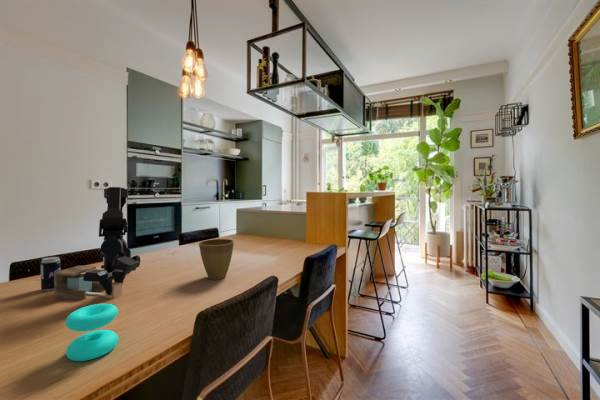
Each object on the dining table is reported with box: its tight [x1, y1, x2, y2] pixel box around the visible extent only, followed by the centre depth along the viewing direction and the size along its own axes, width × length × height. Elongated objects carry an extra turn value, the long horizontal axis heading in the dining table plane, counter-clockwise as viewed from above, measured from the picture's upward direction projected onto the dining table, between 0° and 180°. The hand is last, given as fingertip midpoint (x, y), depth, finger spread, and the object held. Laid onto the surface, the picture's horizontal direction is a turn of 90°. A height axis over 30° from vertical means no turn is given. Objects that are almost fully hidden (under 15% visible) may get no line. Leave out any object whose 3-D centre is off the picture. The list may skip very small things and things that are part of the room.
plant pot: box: [198, 238, 235, 281], centre depth 121 cm, size 15×15×16 cm
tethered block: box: [67, 273, 123, 299], centre depth 100 cm, size 5×18×6 cm, turn 81°
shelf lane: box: [53, 265, 105, 300], centre depth 100 cm, size 9×12×9 cm
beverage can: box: [40, 256, 62, 292], centre depth 105 cm, size 6×6×12 cm
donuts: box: [65, 303, 119, 362], centre depth 65 cm, size 10×10×10 cm
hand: (113, 292), depth 98 cm, fingers closed on tethered block, 3 cm apart
